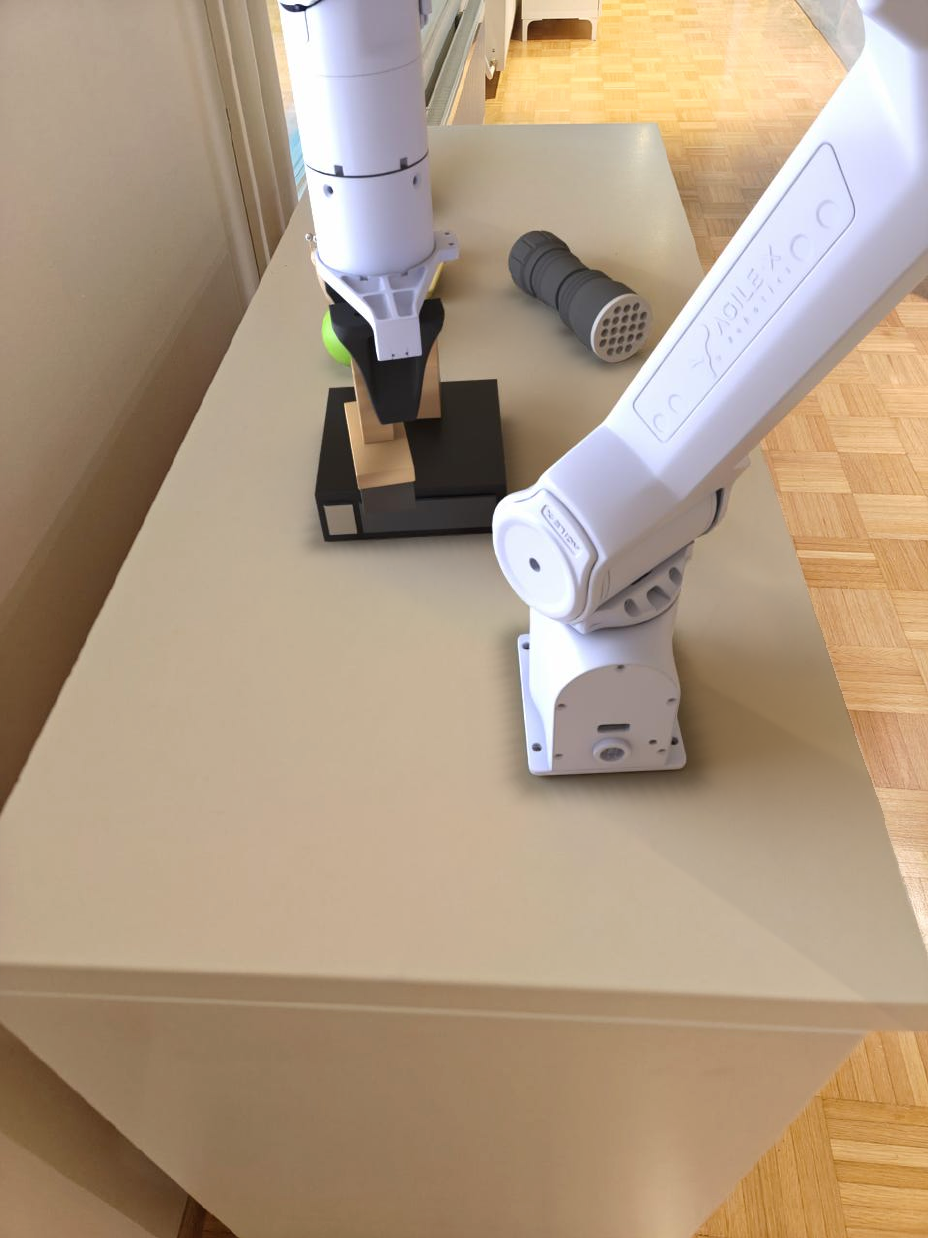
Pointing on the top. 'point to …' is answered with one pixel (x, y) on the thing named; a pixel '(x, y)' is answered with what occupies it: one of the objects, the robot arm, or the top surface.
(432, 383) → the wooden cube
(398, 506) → the brush
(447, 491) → the box
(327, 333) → the snail figurine
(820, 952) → the top surface
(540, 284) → the flashlight
